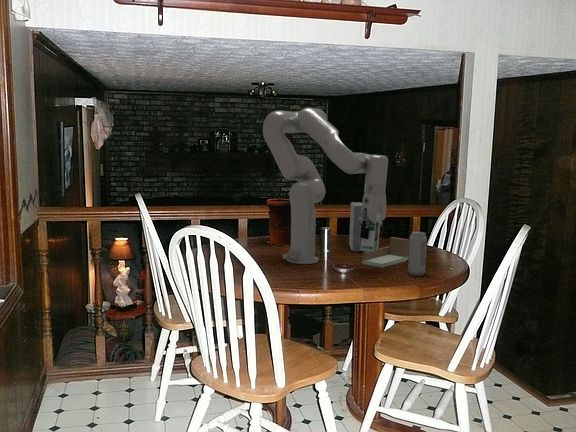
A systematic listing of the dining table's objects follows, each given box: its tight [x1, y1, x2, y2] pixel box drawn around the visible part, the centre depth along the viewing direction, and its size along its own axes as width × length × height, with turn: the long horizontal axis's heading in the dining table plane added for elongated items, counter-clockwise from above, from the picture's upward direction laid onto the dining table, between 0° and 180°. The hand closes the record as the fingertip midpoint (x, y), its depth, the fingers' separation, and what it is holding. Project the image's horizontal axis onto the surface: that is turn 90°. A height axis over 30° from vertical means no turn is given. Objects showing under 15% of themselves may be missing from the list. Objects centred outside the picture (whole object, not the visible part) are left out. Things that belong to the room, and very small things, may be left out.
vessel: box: [266, 198, 291, 246], centre depth 253 cm, size 14×14×20 cm
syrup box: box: [361, 212, 381, 252], centre depth 201 cm, size 6×6×14 cm
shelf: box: [361, 236, 410, 268], centre depth 217 cm, size 19×9×8 cm, turn 137°
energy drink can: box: [407, 231, 428, 276], centre depth 198 cm, size 6×6×15 cm
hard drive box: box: [348, 201, 367, 252], centre depth 243 cm, size 16×8×20 cm, turn 179°
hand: (370, 236), depth 202 cm, fingers closed on syrup box, 7 cm apart
